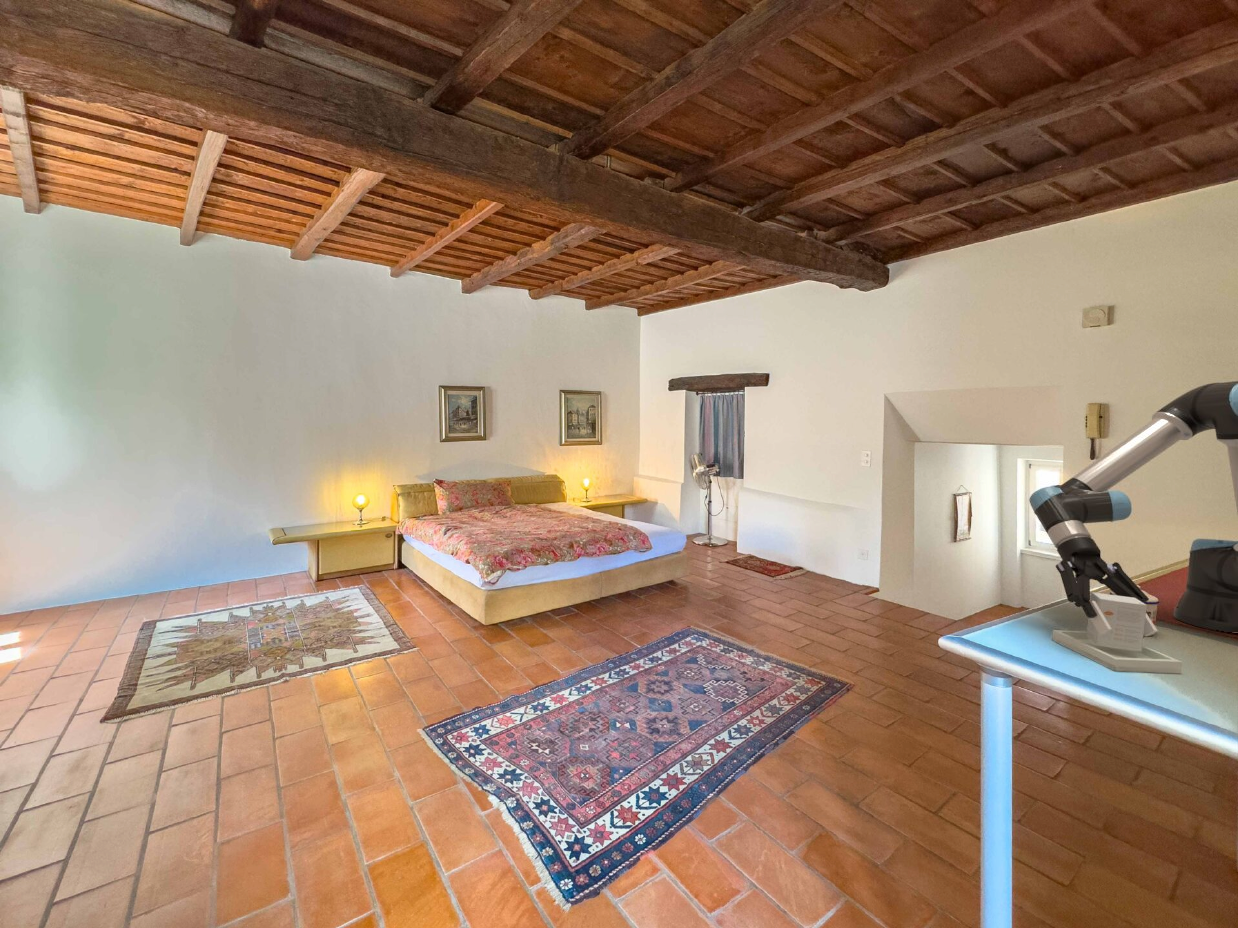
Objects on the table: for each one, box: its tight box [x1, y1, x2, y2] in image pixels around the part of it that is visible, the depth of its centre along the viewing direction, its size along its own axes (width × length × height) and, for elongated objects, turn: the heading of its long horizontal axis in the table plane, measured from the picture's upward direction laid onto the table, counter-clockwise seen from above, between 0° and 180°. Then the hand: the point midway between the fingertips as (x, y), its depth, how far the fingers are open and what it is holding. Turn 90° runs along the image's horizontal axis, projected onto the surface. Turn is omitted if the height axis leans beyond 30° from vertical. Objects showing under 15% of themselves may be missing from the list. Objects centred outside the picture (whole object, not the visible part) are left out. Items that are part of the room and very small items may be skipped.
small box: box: [1086, 591, 1147, 652], centre depth 120 cm, size 8×6×10 cm
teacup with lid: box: [1109, 584, 1160, 637], centre depth 139 cm, size 12×9×12 cm
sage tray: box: [1051, 629, 1183, 674], centre depth 121 cm, size 14×16×2 cm
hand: (1128, 632), depth 117 cm, fingers closed on small box, 9 cm apart
